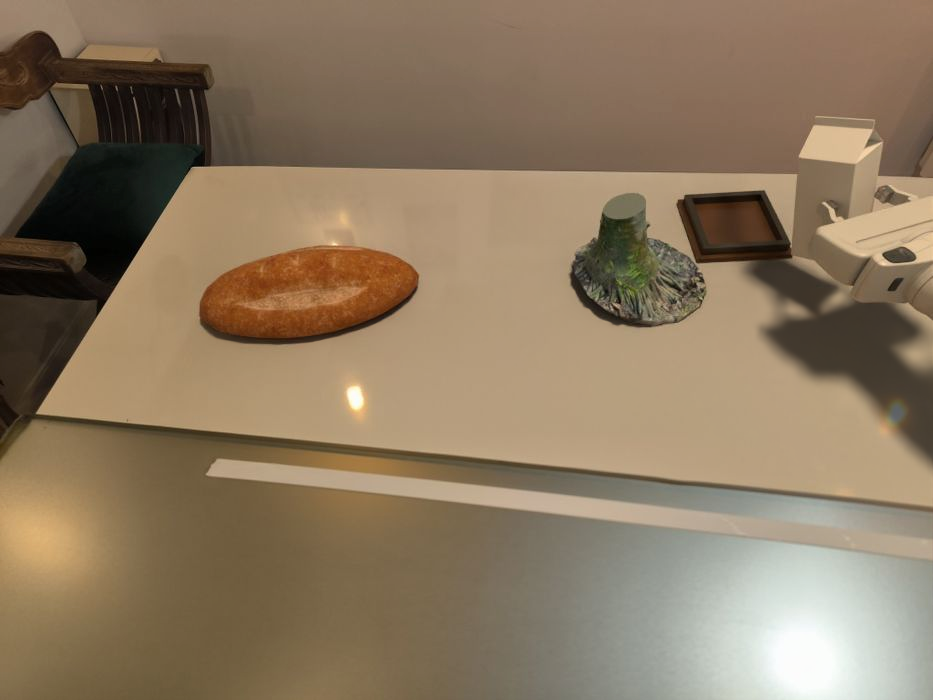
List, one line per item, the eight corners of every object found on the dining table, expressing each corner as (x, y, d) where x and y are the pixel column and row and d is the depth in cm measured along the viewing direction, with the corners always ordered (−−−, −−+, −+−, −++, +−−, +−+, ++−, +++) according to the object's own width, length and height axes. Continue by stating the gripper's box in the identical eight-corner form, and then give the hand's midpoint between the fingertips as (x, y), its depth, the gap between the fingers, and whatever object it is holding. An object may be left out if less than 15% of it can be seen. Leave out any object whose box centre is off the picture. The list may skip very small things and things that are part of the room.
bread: (211, 276, 103) (189, 237, 97) (416, 249, 104) (409, 208, 97) (195, 357, 93) (169, 319, 86) (424, 326, 94) (417, 286, 87)
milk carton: (841, 268, 83) (860, 131, 72) (790, 256, 88) (800, 126, 77) (867, 244, 86) (889, 109, 75) (816, 234, 91) (829, 106, 80)
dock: (762, 198, 107) (767, 187, 105) (791, 258, 97) (797, 246, 96) (676, 203, 107) (679, 192, 105) (697, 263, 98) (700, 251, 96)
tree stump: (697, 344, 89) (692, 255, 76) (566, 333, 98) (542, 251, 85) (715, 256, 98) (714, 163, 85) (594, 253, 107) (576, 169, 94)
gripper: (1020, 223, 71) (930, 158, 79) (869, 268, 68) (793, 196, 77) (987, 262, 76) (906, 198, 84) (845, 305, 73) (776, 234, 82)
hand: (851, 197), depth 81 cm, fingers closed on milk carton, 7 cm apart
